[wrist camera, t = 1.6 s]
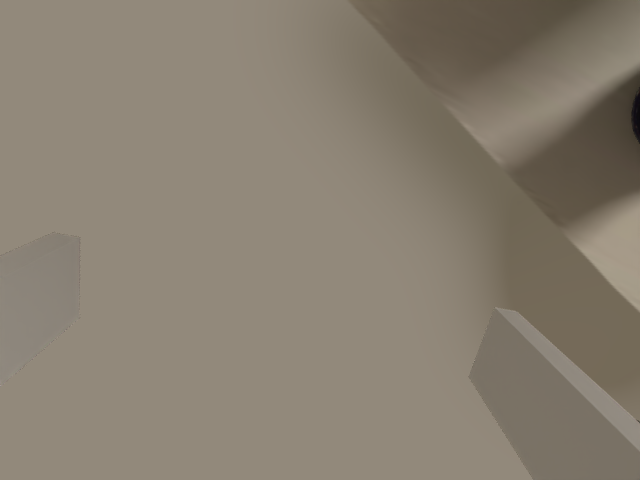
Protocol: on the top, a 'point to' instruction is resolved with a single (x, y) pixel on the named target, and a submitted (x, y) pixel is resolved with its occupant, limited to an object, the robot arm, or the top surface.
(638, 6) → the top surface
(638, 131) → the storage jar
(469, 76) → the top surface
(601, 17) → the top surface
